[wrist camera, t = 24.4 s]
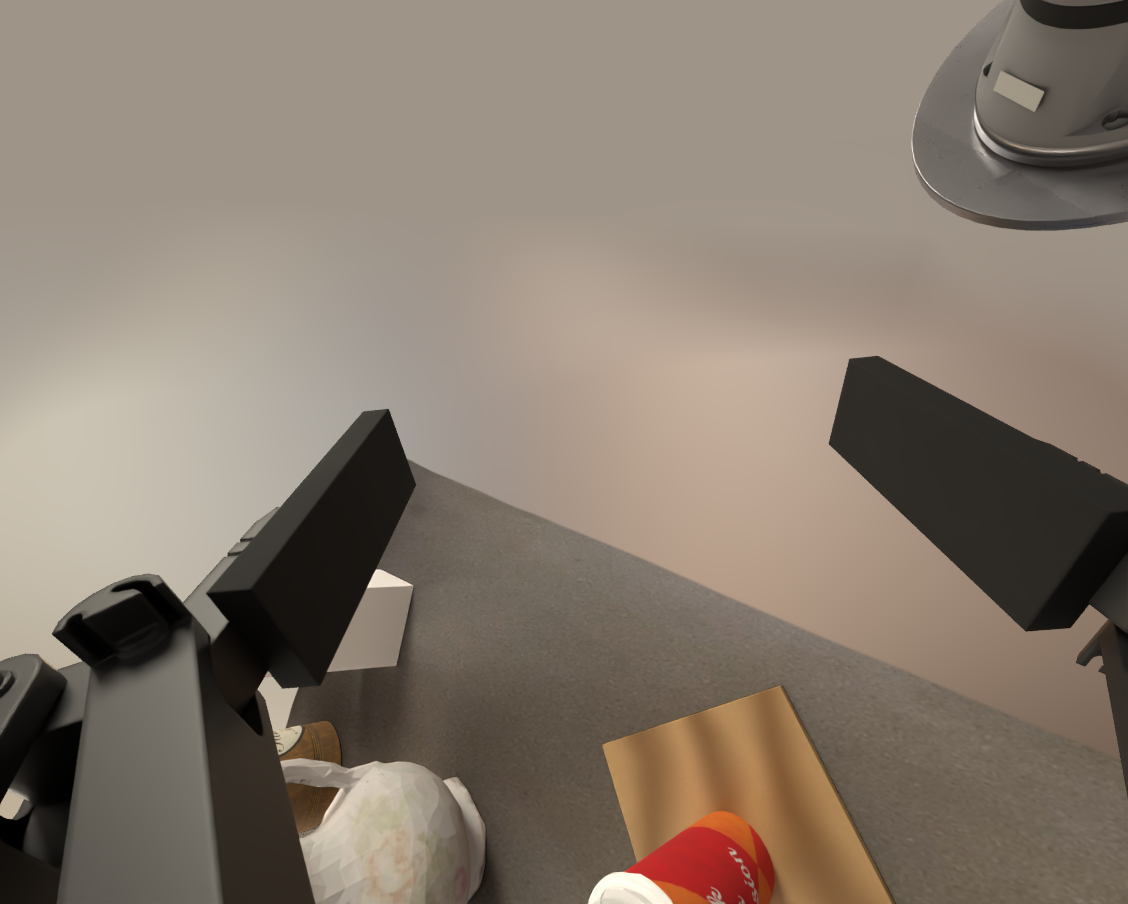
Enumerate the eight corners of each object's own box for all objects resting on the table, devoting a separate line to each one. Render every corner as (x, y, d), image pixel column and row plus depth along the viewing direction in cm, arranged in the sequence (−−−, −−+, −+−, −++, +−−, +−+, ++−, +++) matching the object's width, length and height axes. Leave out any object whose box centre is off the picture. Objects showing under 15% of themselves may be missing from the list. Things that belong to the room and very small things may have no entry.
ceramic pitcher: (405, 752, 62) (173, 830, 44) (473, 691, 53) (219, 756, 36) (442, 964, 49) (139, 1186, 32) (538, 926, 41) (198, 1200, 23)
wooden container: (340, 707, 74) (172, 741, 58) (345, 813, 66) (152, 885, 50) (304, 734, 81) (144, 771, 65) (304, 834, 73) (122, 903, 57)
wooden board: (782, 684, 32) (779, 686, 32) (970, 1047, 23) (971, 1056, 23) (605, 743, 41) (601, 745, 40) (691, 1028, 31) (688, 1034, 31)
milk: (396, 665, 66) (173, 698, 47) (364, 640, 74) (162, 660, 55) (413, 585, 68) (205, 586, 49) (380, 569, 75) (190, 565, 57)
